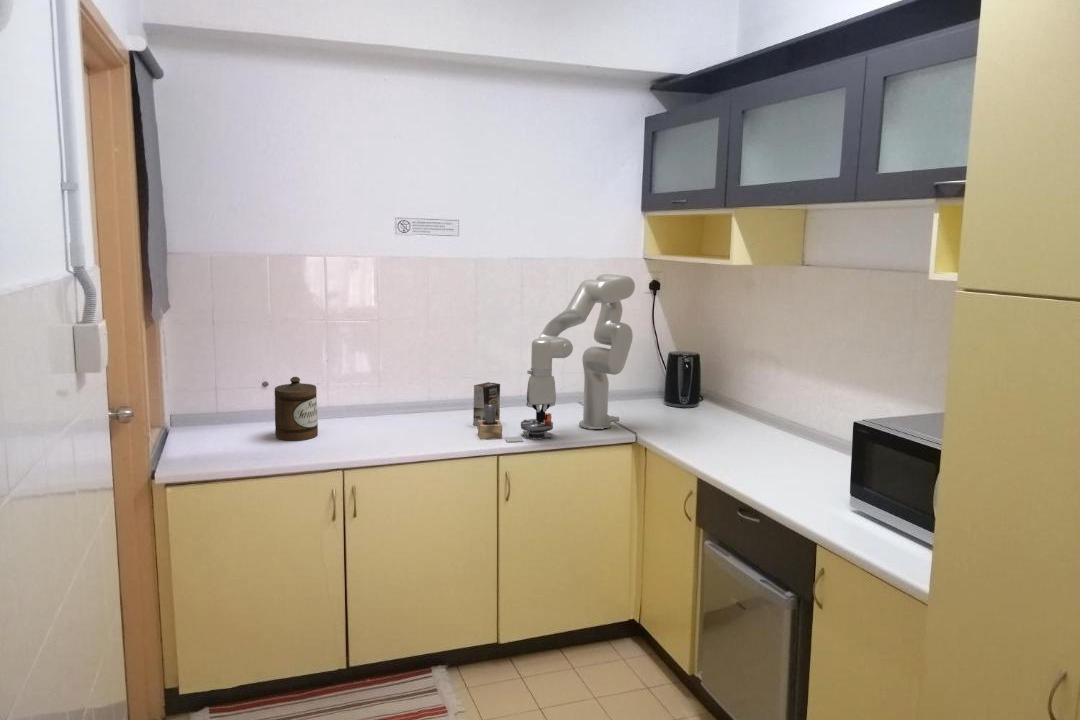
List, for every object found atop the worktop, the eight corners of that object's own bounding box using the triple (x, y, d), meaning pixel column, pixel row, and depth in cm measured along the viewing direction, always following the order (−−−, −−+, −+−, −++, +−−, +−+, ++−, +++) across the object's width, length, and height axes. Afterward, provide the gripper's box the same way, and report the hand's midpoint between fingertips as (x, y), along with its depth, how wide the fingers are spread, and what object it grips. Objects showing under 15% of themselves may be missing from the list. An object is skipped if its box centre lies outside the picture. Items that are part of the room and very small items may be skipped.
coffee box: (485, 427, 304) (485, 387, 301) (472, 425, 308) (473, 384, 305) (500, 423, 311) (500, 383, 308) (488, 420, 315) (488, 381, 312)
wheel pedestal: (545, 431, 300) (546, 425, 300) (550, 438, 291) (551, 431, 291) (522, 432, 298) (522, 426, 298) (527, 439, 290) (527, 432, 289)
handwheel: (514, 428, 293) (514, 412, 292) (533, 421, 302) (533, 406, 301) (540, 433, 286) (541, 417, 285) (559, 427, 295) (559, 411, 294)
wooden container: (305, 442, 279) (303, 382, 275) (267, 439, 282) (265, 379, 278) (325, 432, 294) (323, 374, 290) (288, 429, 296) (286, 371, 293)
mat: (520, 437, 292) (520, 436, 291) (523, 441, 286) (523, 440, 286) (504, 438, 290) (504, 436, 290) (507, 442, 285) (507, 441, 285)
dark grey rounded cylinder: (494, 434, 295) (494, 403, 293) (495, 437, 291) (496, 405, 289) (483, 434, 294) (484, 403, 292) (485, 437, 290) (485, 406, 288)
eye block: (498, 432, 297) (499, 419, 297) (502, 438, 290) (502, 425, 289) (477, 433, 296) (478, 420, 295) (480, 439, 288) (480, 425, 287)
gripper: (524, 375, 280) (523, 425, 283) (564, 374, 284) (562, 423, 287) (519, 371, 287) (518, 420, 290) (558, 370, 291) (556, 418, 294)
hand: (540, 421), depth 289 cm, fingers closed
